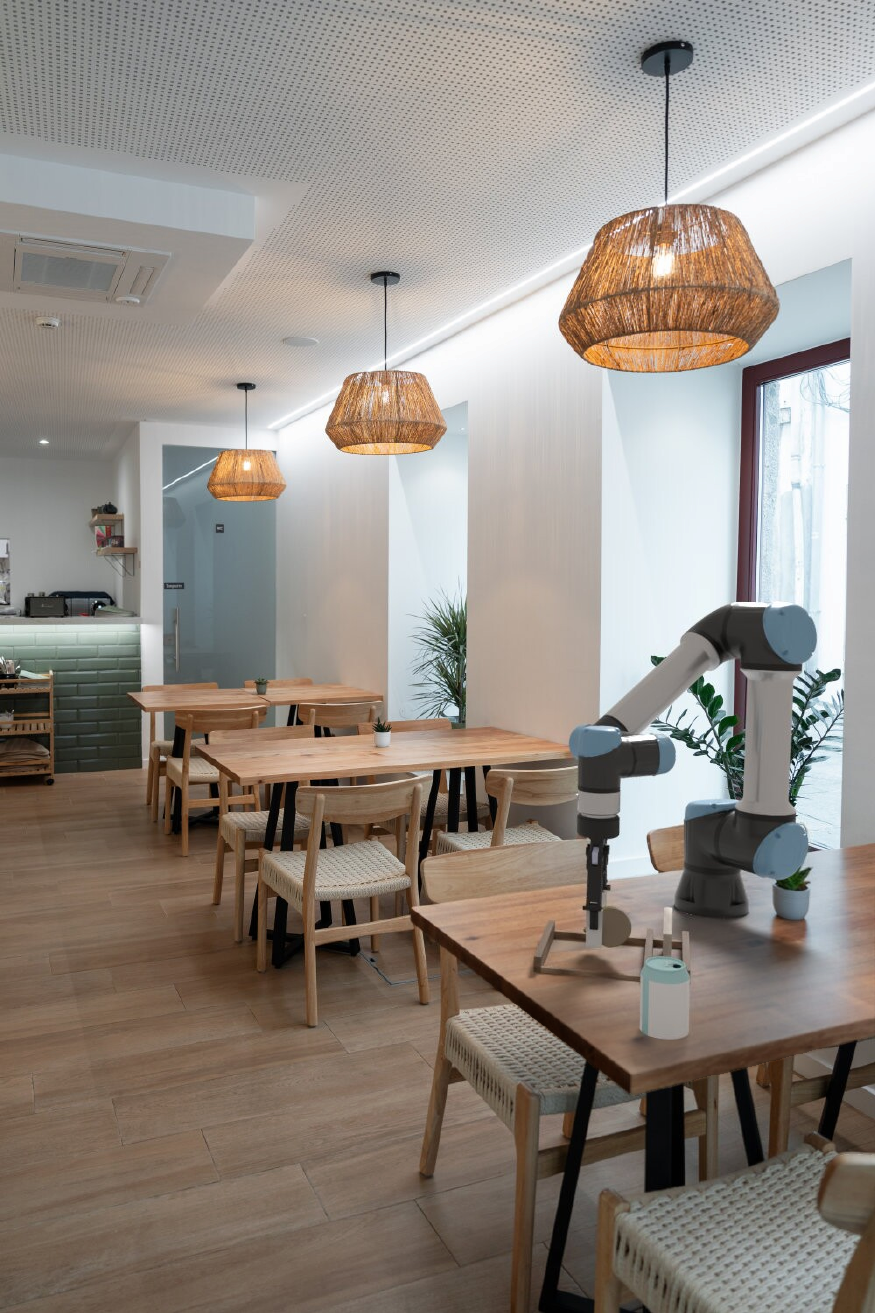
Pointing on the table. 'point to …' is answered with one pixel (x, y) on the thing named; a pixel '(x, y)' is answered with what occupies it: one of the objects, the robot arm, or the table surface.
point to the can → (664, 998)
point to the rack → (577, 942)
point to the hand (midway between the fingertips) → (596, 936)
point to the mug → (614, 926)
